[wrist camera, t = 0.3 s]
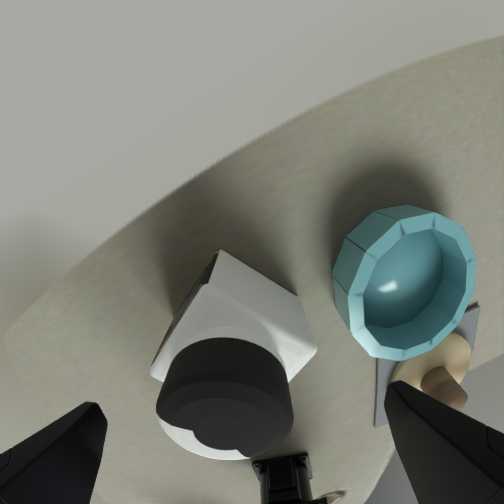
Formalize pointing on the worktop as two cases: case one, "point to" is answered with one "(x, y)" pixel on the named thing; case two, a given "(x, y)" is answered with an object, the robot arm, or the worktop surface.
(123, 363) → the worktop surface
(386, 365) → the mat
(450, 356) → the lid
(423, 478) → the robot arm
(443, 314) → the bowl
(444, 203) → the worktop surface
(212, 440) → the medicine bottle
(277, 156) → the worktop surface
